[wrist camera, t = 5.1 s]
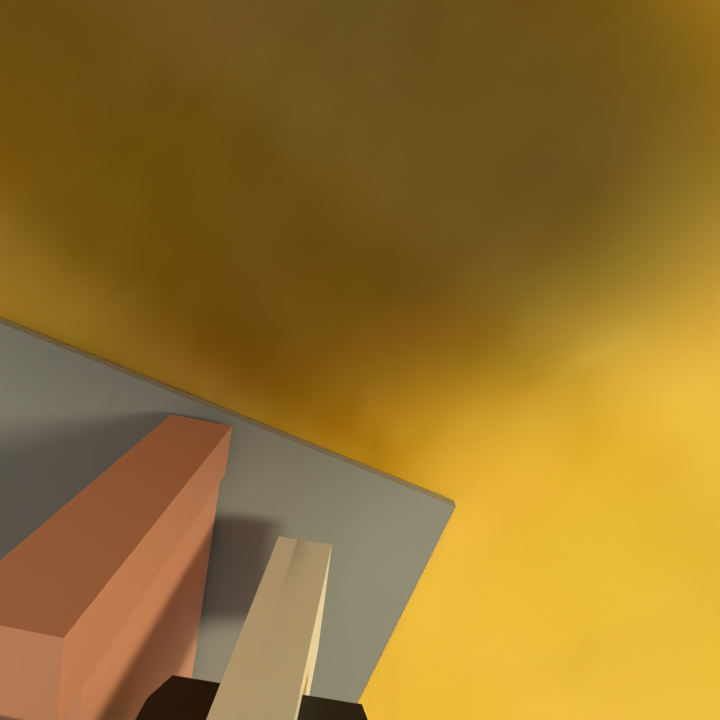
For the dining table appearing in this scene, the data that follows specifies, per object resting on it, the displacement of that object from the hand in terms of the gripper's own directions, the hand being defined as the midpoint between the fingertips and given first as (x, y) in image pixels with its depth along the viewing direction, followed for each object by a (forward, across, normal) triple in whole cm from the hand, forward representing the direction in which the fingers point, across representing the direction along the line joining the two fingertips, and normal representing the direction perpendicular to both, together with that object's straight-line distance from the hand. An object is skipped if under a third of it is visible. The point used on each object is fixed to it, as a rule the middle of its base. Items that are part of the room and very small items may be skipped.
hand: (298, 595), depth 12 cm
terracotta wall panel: (+1, -3, -1) cm, 3 cm away
